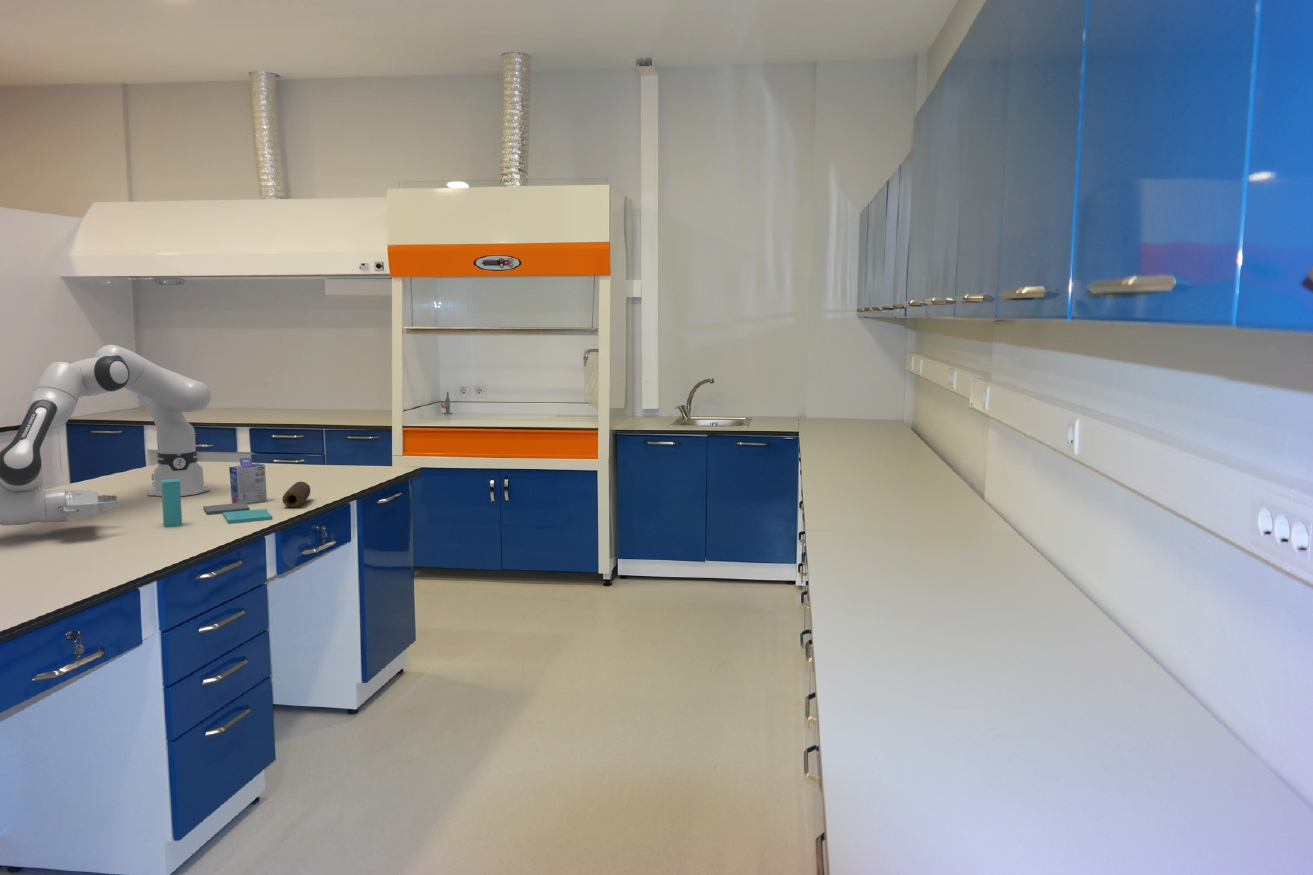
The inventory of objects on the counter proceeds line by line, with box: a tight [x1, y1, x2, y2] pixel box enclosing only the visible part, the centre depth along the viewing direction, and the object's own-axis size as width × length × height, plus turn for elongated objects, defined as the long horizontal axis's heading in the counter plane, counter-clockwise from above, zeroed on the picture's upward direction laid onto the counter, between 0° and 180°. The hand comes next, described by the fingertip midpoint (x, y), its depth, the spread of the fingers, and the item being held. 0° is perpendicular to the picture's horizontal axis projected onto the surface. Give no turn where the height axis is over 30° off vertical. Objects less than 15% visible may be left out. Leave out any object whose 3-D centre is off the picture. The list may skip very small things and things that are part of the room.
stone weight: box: [281, 481, 311, 508], centre depth 293 cm, size 15×7×7 cm, turn 13°
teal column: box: [161, 479, 183, 528], centre depth 261 cm, size 4×4×13 cm
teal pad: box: [222, 508, 273, 525], centre depth 272 cm, size 12×12×1 cm
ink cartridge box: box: [228, 457, 268, 505], centre depth 294 cm, size 10×6×14 cm, turn 142°
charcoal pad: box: [203, 503, 251, 516], centre depth 282 cm, size 9×12×1 cm
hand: (117, 501), depth 253 cm, fingers open, 8 cm apart
